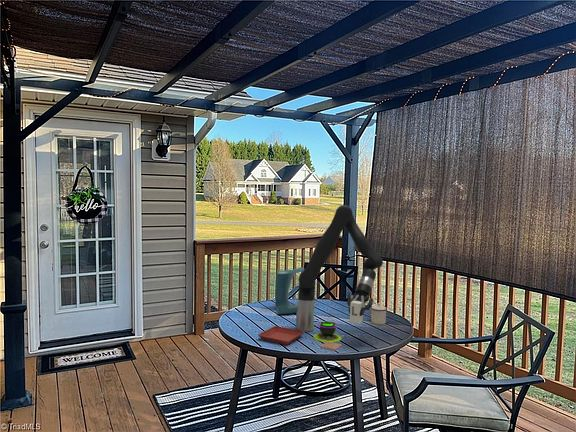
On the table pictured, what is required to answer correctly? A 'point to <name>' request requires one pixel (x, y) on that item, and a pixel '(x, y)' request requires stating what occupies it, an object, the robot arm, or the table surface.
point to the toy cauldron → (327, 332)
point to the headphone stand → (285, 291)
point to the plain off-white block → (356, 312)
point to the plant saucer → (280, 335)
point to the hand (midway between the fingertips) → (355, 314)
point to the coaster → (331, 346)
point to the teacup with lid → (378, 314)
